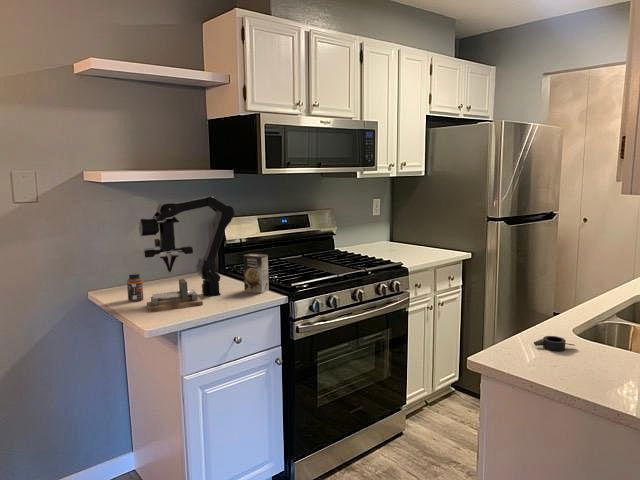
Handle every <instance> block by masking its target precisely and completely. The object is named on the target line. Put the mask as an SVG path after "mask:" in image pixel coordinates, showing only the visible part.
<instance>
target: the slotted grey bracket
mask: <svg viewBox="0 0 640 480" xmlns="http://www.w3.org/2000/svg"><path fill="white" fill-rule="evenodd" d="M178 285H179V286H178V287H179V290H178V291H182V298H181V299H182V301H183V302H188V290H189V289H188V282H187V280H185V279H184V278H180V279H178Z"/></svg>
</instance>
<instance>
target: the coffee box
mask: <svg viewBox="0 0 640 480" xmlns="http://www.w3.org/2000/svg"><path fill="white" fill-rule="evenodd" d="M242 257H243V282H244V283H243V284H244V290H243V291H244V292H245V293H254V294H255V293H256V294H264V293H266V292H268V291H270V289H269V260H268V259H269V255H268V254H262V253H247V254H243V255H242Z"/></svg>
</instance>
